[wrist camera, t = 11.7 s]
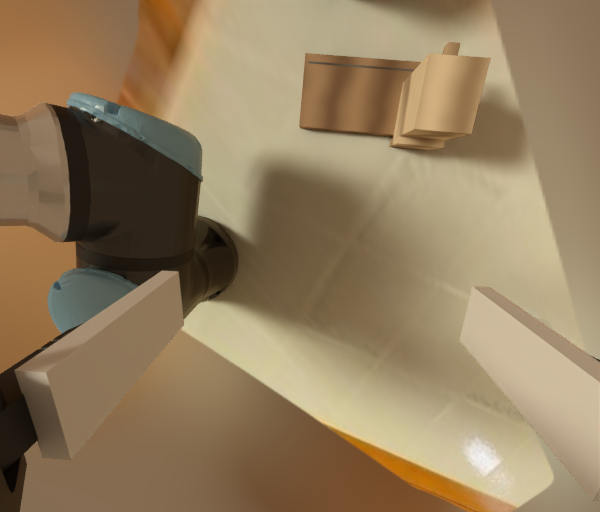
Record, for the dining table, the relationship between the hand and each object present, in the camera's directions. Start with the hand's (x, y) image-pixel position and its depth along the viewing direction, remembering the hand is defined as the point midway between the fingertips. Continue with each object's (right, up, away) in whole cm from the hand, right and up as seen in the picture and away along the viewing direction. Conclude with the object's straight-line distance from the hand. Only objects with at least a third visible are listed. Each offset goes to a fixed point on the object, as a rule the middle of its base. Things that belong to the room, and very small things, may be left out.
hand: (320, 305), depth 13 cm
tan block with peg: (+16, +23, +27) cm, 39 cm away
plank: (+10, +25, +28) cm, 38 cm away
